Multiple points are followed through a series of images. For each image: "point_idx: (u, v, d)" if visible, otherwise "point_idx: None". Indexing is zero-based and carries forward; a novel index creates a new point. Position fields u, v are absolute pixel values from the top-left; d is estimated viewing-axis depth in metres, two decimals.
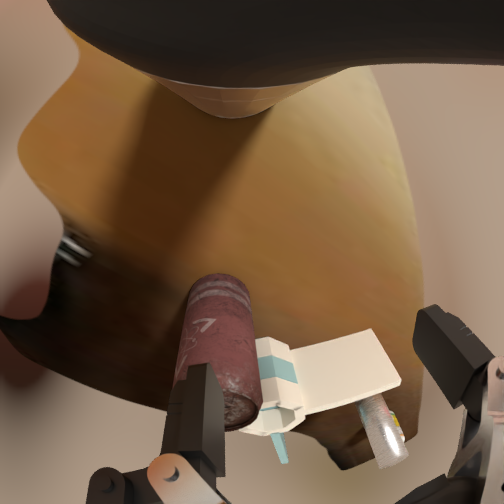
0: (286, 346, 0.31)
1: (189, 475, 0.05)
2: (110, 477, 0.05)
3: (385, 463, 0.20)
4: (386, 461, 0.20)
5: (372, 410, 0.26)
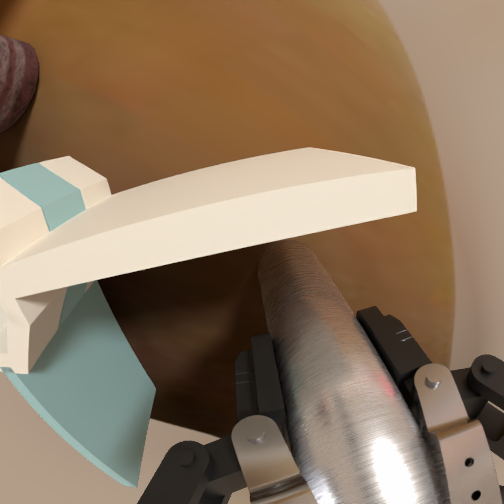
0: (98, 176, 0.13)
1: (278, 433, 0.06)
2: (190, 451, 0.06)
3: None
4: None
5: (316, 364, 0.07)
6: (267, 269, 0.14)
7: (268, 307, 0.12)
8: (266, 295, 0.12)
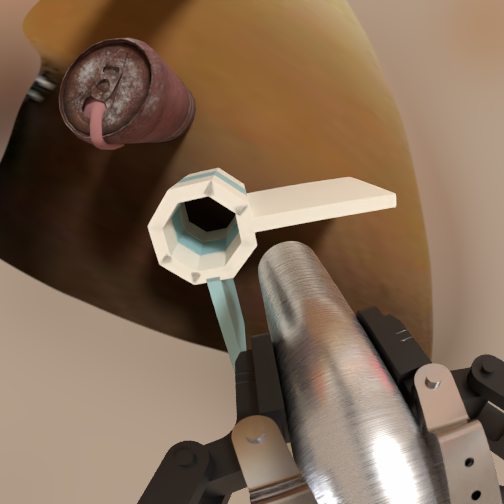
0: (240, 182, 0.26)
1: (278, 433, 0.06)
2: (189, 451, 0.06)
3: None
4: None
5: (317, 364, 0.07)
6: (268, 269, 0.14)
7: (269, 308, 0.12)
8: (267, 296, 0.12)
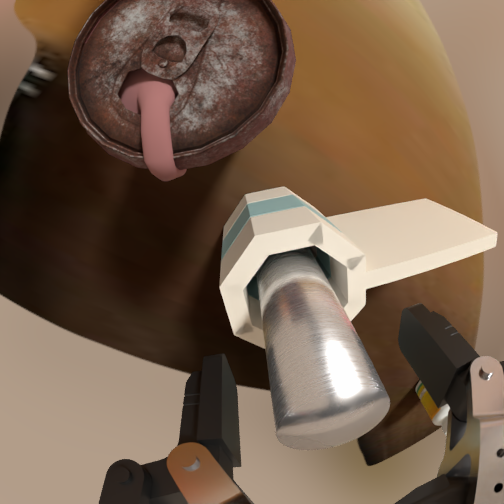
0: (311, 205, 0.20)
1: (210, 463, 0.05)
2: (128, 469, 0.05)
3: (293, 422, 0.07)
4: (292, 411, 0.06)
5: (278, 271, 0.13)
6: None
7: None
8: None
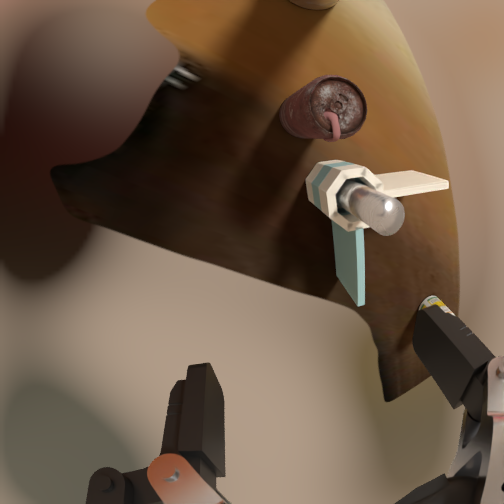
0: None
1: (189, 475, 0.05)
2: (110, 477, 0.05)
3: (377, 211, 0.22)
4: (377, 205, 0.22)
5: (351, 185, 0.29)
6: None
7: None
8: None
